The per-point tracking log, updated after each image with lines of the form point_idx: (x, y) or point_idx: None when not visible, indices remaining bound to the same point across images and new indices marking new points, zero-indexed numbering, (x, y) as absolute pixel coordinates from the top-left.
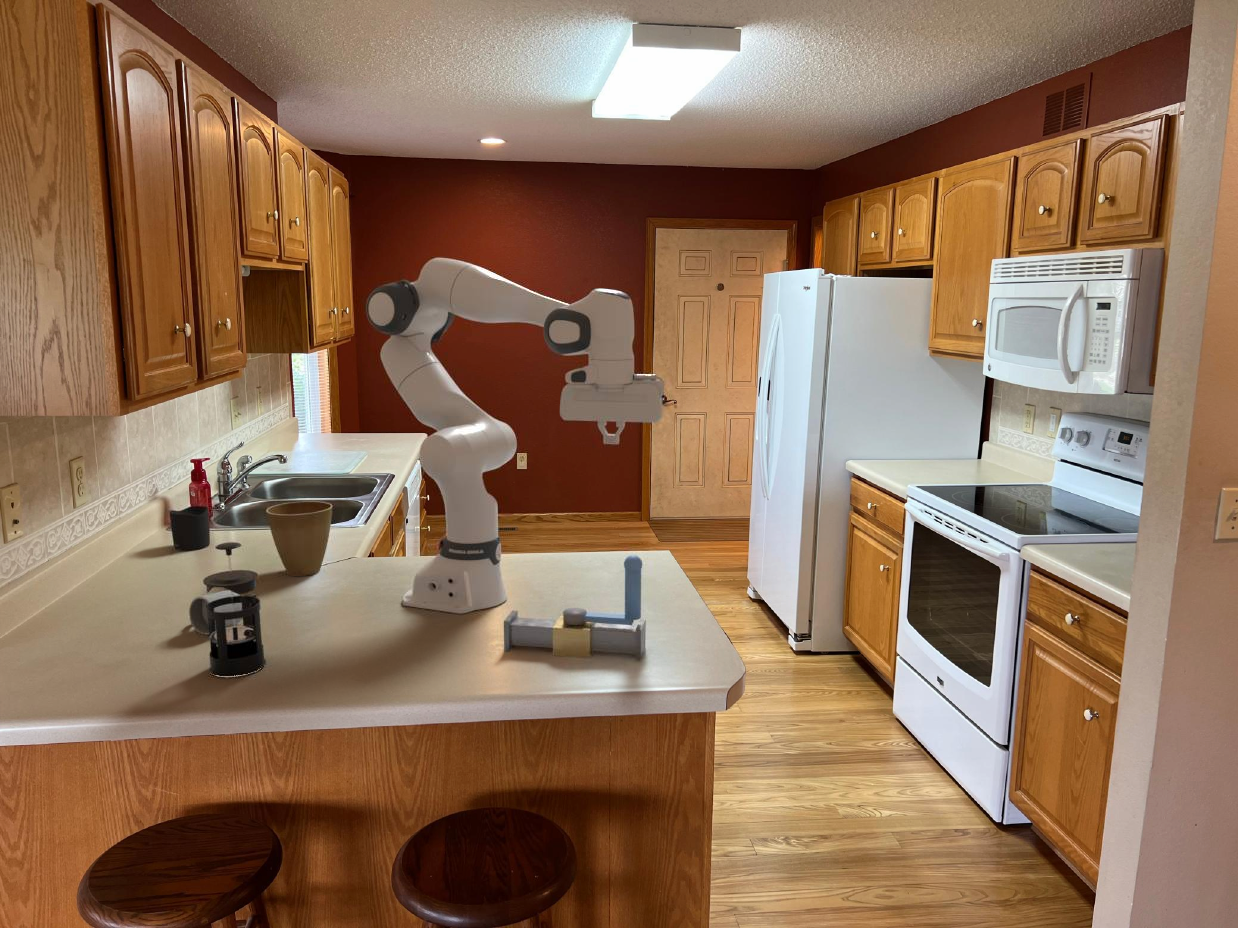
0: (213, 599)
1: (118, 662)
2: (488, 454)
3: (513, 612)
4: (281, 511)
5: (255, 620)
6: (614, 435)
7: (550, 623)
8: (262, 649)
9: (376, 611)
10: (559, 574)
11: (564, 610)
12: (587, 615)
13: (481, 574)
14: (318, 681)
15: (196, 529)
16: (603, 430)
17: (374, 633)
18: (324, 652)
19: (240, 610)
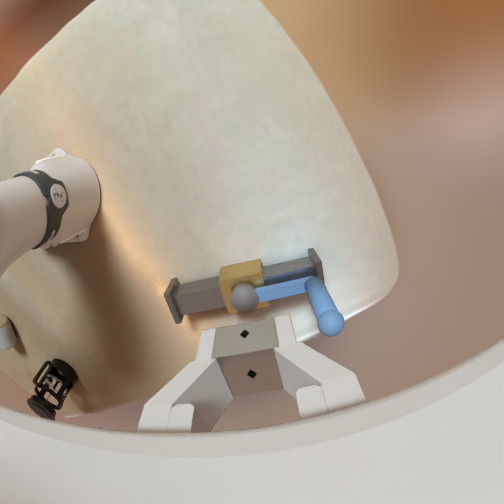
0: (3, 346)
1: (28, 372)
2: None
3: (168, 300)
4: None
5: (62, 394)
6: (282, 387)
7: (216, 298)
8: (67, 375)
9: (35, 264)
10: (110, 62)
11: (230, 301)
12: (261, 299)
13: (70, 223)
14: (112, 378)
15: None
16: (214, 423)
17: (69, 306)
18: (75, 344)
19: (7, 328)
